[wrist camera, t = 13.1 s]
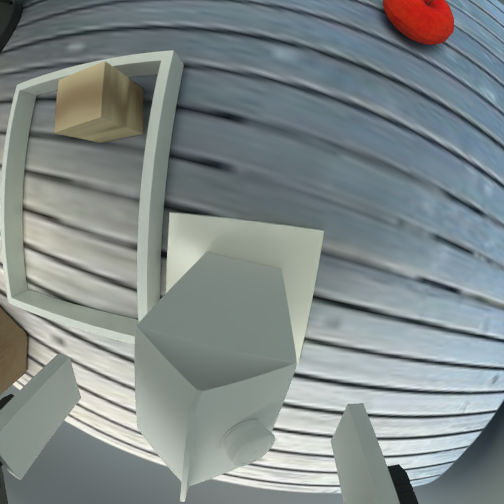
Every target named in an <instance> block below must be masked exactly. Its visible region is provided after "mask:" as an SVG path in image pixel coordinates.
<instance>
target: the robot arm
mask: <svg viewBox="0 0 504 504" xmlns="http://www.w3.org/2000/svg"><path fill="white" fill-rule="evenodd" d="M21 12H22V4H21V3H19V2H18V1H16V0H0V51H1V50H2V48H3V47H4V45H5V44H6V42H7V41H8V39H9V37H10V36H11V34H12V32H13V30H14V28H15V27H16V25H17V22H18V20H19V18H20V15H21ZM80 399H81V396H80V393H79V390H78V386H77V383H76V379H75V376H74V372H73V368H72V364H71V360H70V358H69V357H67V356H64V355H61V354H58V355H57V356H55V357H54V358H53V359H52V360H51V361H50V362H49V363H48V364H47V365H46V366H45V367H44V368H43V369H42V370H41V371H40V372H38V373H37V374H36V375H35V376H34V377H33V378H32V379H31V380H30V381H29V382H28V383H27V384H26V385H25V386H24V387H23V388H22V389H21V390H20V391H19V392H18V393H17V394H16V395H15V396H14V395H12V394H10V395H8V396H6V397H4V398H2V399H1V400H0V504H8V501H7V495H6V489H5V483H4V476H3V471H2V468H1V466H2V465H4V466H5V468H6V469H7V470H8V471H9V472H10V473H11V474H13V475H14V476H15V477H17V478H18V479H20V480H21V479H22V478H23V476H24V475H25V473H26V472H27V470H28V469H29V467H30V466H31V465H32V463H33V462H34V460H35V459H36V457H37V456H38V455H39V453H40V452H41V451H42V449H43V448H44V446H45V445H46V444H47V442H48V441H49V440H50V438H51V437H52V435H53V434H54V433H55V431H56V430H57V429H58V427H59V426H60V425H61V423H62V422H63V421H64V419H65V418H66V417H67V415H68V414H69V413H70V412H71V410H72V409H73V408H74V406H75V405H76V404H77V402H78V401H79V400H80ZM331 444H332V448H333V453H334V458H335V463H336V467H337V472H338V477H339V482H340V487H341V492H342V497H343V502H344V504H418V501H417V499H416V496H415V493H414V491H413V488H412V485H411V484H410V480H409V478H408V475H407V473H406V471H405V470H404V469H403V468H402V467H401V466H400V465H399V464H398V465H393V466H387V465H386V462H385V459H384V457H383V454H382V451H381V448H380V446H379V443H378V440H377V438H376V435H375V433H374V430H373V427H372V425H371V422H370V420H369V417H368V415H367V412H366V409H365V407H364V404H363V403H361V404H348V405H347V407H346V409H345V412H344V414H343V416H342V418H341V421H340V423H339V425H338V427H337V429H336V431H335V434H334V436H333V438H332V440H331Z"/></svg>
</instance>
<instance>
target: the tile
mask: <svg viewBox="0 0 504 504" xmlns="http://www.w3.org/2000/svg"><path fill="white" fill-rule="evenodd" d="M323 235H324V231H323V230H322V229H314V228H307V227H300V226H292V225H285V224H277V223H269V222H261V221H253V220H244V219H236V218H227V217H218V216H209V215H200V214H190V213H180V212H170V217H169V231H168V249H167V273H166V293H167V292H168V291H169V290H170V289H171V288H172V287H173V286H174V285H175V283H176V282H177V281H178V280H179V279H180V278H181V277H182V276H183V275H184V274H185V273H186V272H187V271H188V270H189V269H190V268H191V267H192V266H193V265H194V264H195V263H196V262H197V261H198V260H199V259H200V258H201V257H202V256H203V255H204V254H205V253H211V254H215V255H220V256H225V257H229V258H234V259H238V260H243V261H247V262H252V263H257V264H261V265H266V266H271V267H275V268H280V269H282V273H283V279H284V284H285V290H286V296H287V302H288V308H289V314H290V319H291V325H292V332H293V338H294V344H295V350H296V358H297V365H298V363H299V358H300V354H301V350H302V345H303V341H304V336H305V332H306V327H307V323H308V318H309V313H310V308H311V303H312V298H313V293H314V288H315V282H316V277H317V271H318V265H319V260H320V254H321V248H322V241H323Z"/></svg>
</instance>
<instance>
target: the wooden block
mask: <svg viewBox="0 0 504 504" xmlns="http://www.w3.org/2000/svg"><path fill="white" fill-rule="evenodd" d="M27 338H28V337H27V334H26V333H25V331H24V330H23V329H22V328H21V327H20V326H19V325H18V324H17V323H16V322H15V321H13V320H12V318H11V317H10V316H9V315H8V314H7V313H6V312H5V311H4V310H3V309H2V308H1V307H0V395H1V394H2V393H3V392H4V391H5V390H7V389H8V388H9V387H10V386H11V385H12V384H13V383H14V382H16V381H17V380H18V379H19V378H20V377H21V376H22V375H24V374H25V372H26V370H27Z"/></svg>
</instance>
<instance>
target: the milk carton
mask: <svg viewBox="0 0 504 504" xmlns="http://www.w3.org/2000/svg"><path fill="white" fill-rule="evenodd" d="M296 365H297V358H296V350H295V344H294V338H293V332H292V325H291V319H290V314H289V308H288V302H287V296H286V290H285V284H284V279H283V273H282V269H280V268H275V267H271V266H266V265H261V264H257V263H252V262H247V261H243V260H238V259H234V258H229V257H225V256H220V255H215V254H211V253H205V254H204V255H203V256H202V257H201V258H200V259H199V260H198V261H197V262H196V263H195V264H194V265H193V266H192V267H191V268H190V269H189V270H188V271H187V272H186V273H185V274H184V275H183V276H182V277H181V278H180V279H179V280H178V281H177V282H176V283H175V285H174V286H173V287H172V288H171V289H170V290H169V291H168V292H167V293H166V294H165V295H164V296H163V297H162V298H161V299H160V300H159V301H158V302H157V304H156V305H155V306H154V307H153V308H152V309H151V310H150V311H149V312H148V313H147V314H146V315H145V316H144V317H143V319H142V320H141V321H140V322H139V323H138V324H137V325H136V327H135V397H136V415H137V426H138V429H139V430H140V432H141V433H142V435H143V436H144V437H145V439H146V440H147V441H148V443H149V444H150V445H151V446H152V448H153V449H154V450H155V451H156V453H157V454H158V455H159V456H160V458H161V459H162V460H163V461H164V462H165V464H166V465H167V466H168V467H169V468H170V469H171V470H172V472H173V473H174V474H175V475H176V476H177V477H178V478H179V480H180V481H181V482H182V485H181V496H180V501H182V502H185V498H186V494H187V490H188V486H191V485H194V484H197V483H200V482H203V481H206V480H208V479H211V478H214V477H216V476H219V475H221V474H224V473H226V472H229V471H231V470H234V469H236V468H238V467H241V466H244V465H247V464H250V463H252V462H254V461H256V460H258V459H259V458H261V457H262V456H263V455H265V454H266V453H267V452H268V450H269V449H270V448H271V447H272V445H273V443H274V439H275V437H274V435H273V434H272V433H271V432H272V429H273V427H274V424H275V422H276V419H277V417H278V414H279V412H280V409H281V407H282V404H283V402H284V399H285V397H286V394H287V391H288V389H289V386H290V383H291V381H292V378H293V375H294V372H295V369H296Z"/></svg>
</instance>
